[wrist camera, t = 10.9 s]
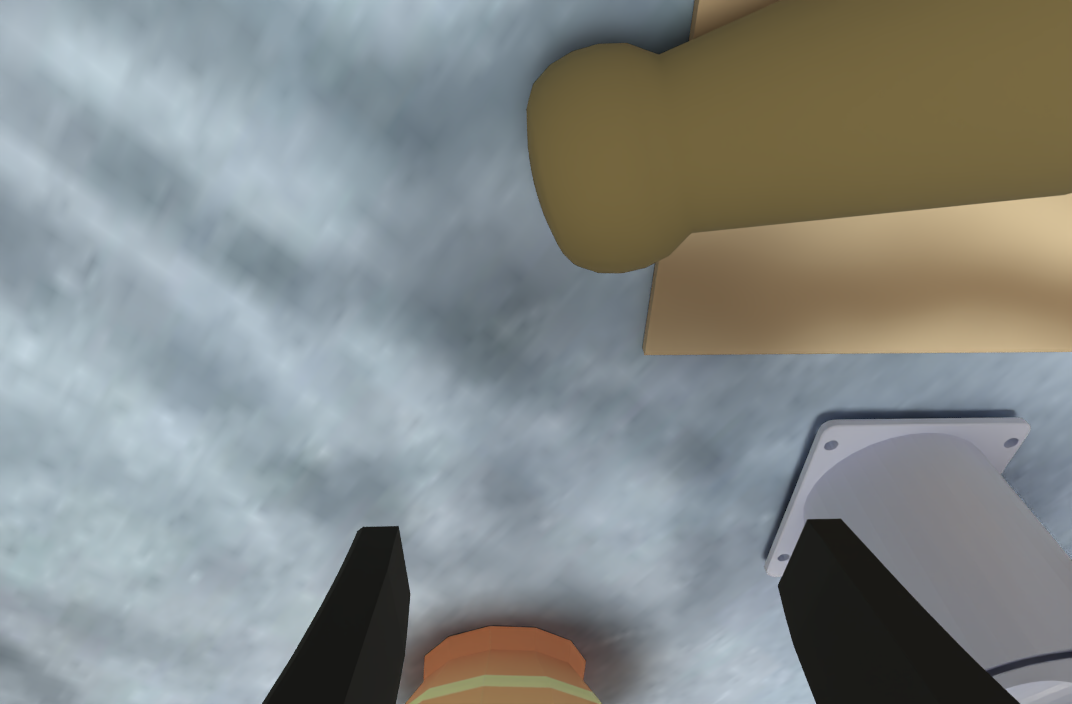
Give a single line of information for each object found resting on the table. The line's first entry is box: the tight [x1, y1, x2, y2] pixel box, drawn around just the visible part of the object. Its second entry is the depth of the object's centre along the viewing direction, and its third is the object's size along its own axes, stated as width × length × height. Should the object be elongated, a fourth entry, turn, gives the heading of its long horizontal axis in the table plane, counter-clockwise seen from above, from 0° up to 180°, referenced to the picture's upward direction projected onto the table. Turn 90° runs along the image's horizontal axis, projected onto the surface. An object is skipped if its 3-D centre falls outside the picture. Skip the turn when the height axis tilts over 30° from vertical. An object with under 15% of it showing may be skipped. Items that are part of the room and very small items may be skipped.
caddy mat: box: [643, 0, 1072, 355], centre depth 16 cm, size 18×16×1 cm
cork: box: [526, 0, 1072, 273], centre depth 14 cm, size 6×6×11 cm
